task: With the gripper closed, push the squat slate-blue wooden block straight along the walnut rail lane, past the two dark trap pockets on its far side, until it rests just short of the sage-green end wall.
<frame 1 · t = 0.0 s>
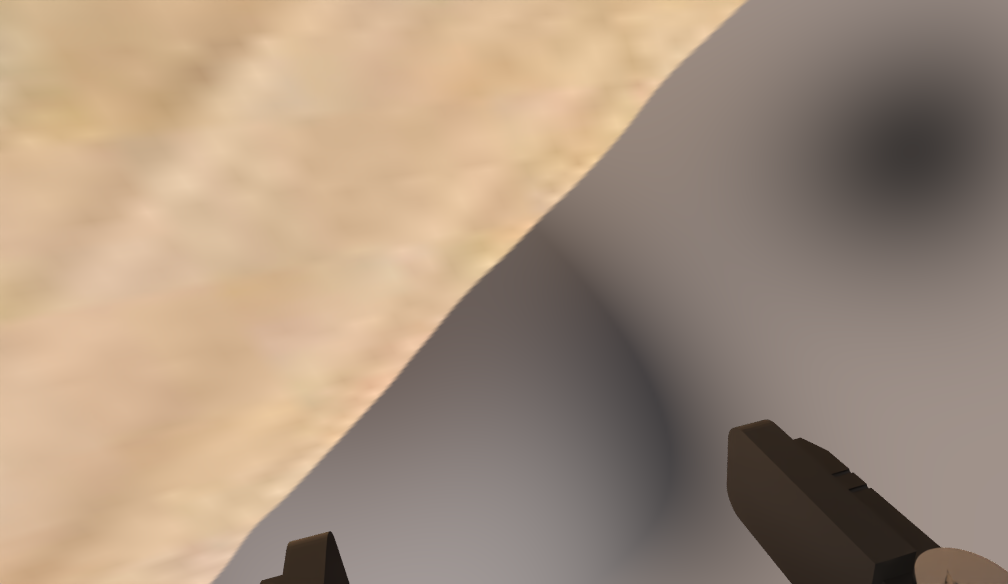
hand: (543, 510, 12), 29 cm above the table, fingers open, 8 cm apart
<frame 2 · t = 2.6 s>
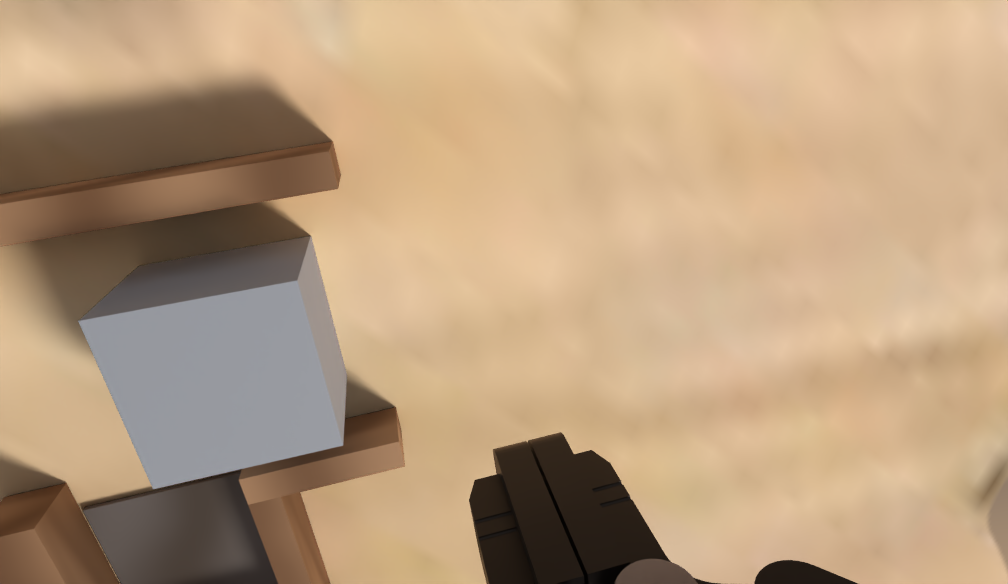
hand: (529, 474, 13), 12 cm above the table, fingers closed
block: (250, 323, 23), on the table
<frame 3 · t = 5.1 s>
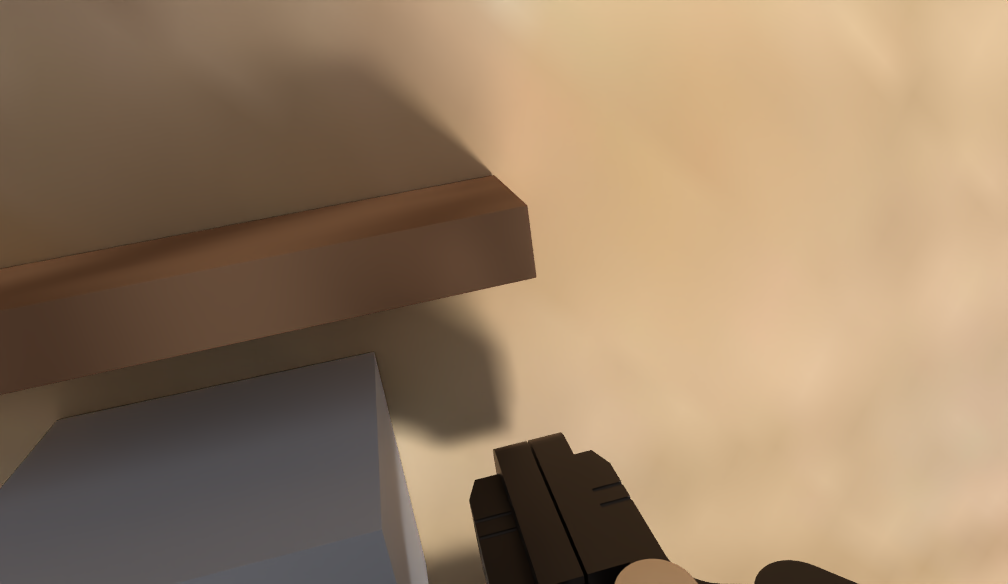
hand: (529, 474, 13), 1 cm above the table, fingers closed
block: (265, 501, 13), on the table, touching gripper
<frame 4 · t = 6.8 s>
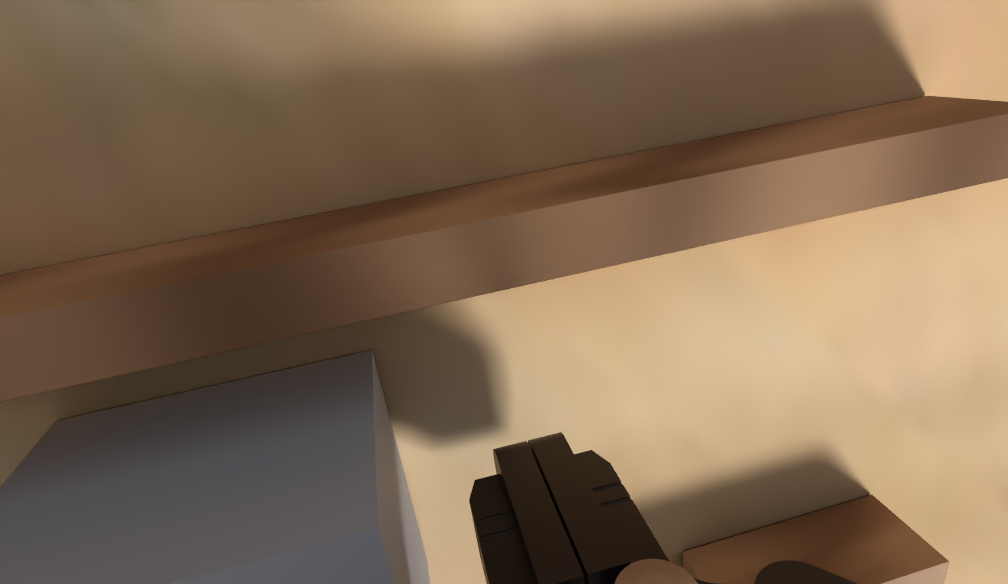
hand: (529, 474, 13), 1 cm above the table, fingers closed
trap lane: (365, 484, 13), on the table
block: (265, 500, 13), on the table, touching gripper
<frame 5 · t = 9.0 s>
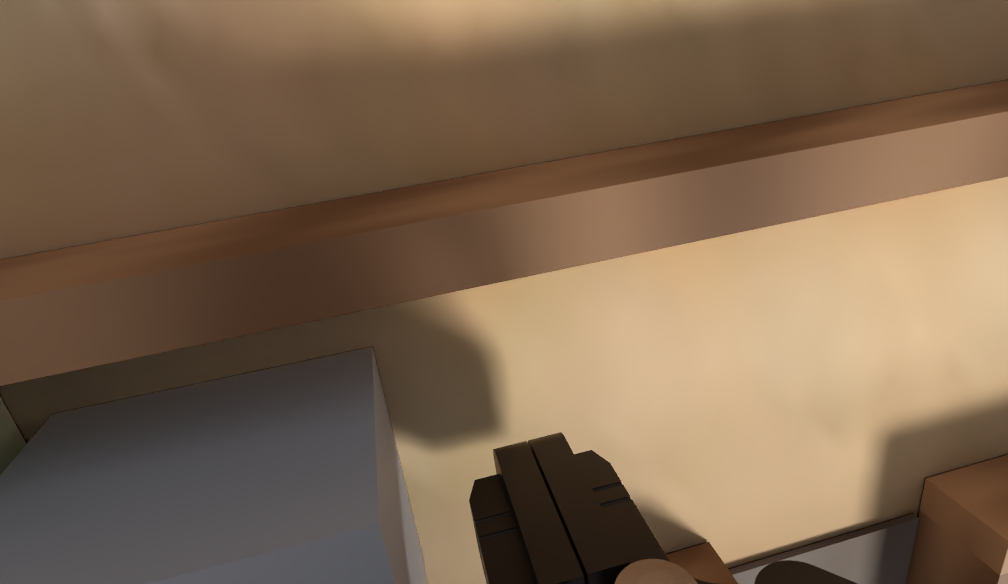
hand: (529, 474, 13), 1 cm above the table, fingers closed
trap lane: (688, 396, 14), on the table
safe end: (52, 553, 12), on the table
block: (262, 497, 13), on the table, touching gripper
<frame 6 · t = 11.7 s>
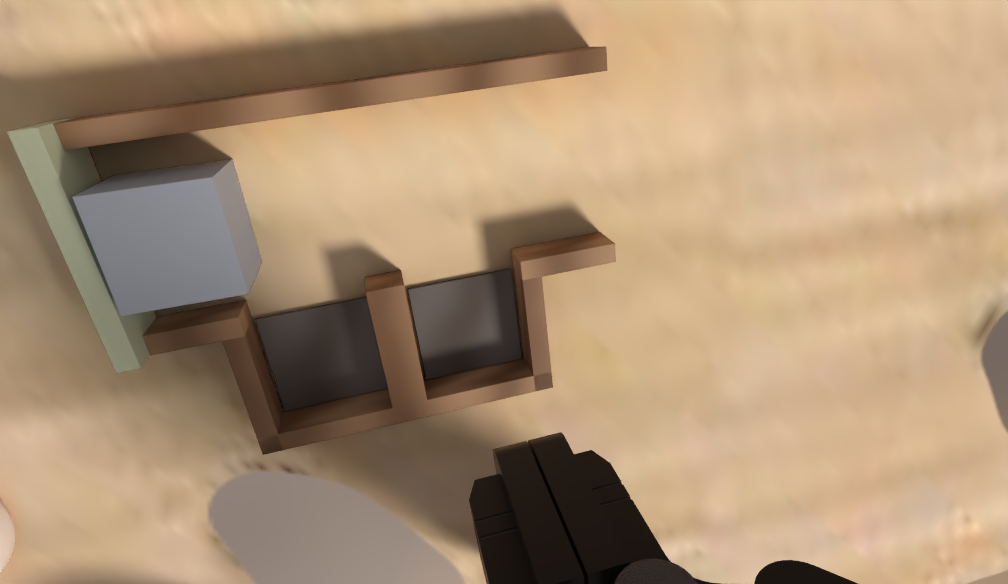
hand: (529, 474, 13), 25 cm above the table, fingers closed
trap lane: (374, 192, 34), on the table
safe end: (111, 236, 32), on the table
block: (192, 220, 33), on the table
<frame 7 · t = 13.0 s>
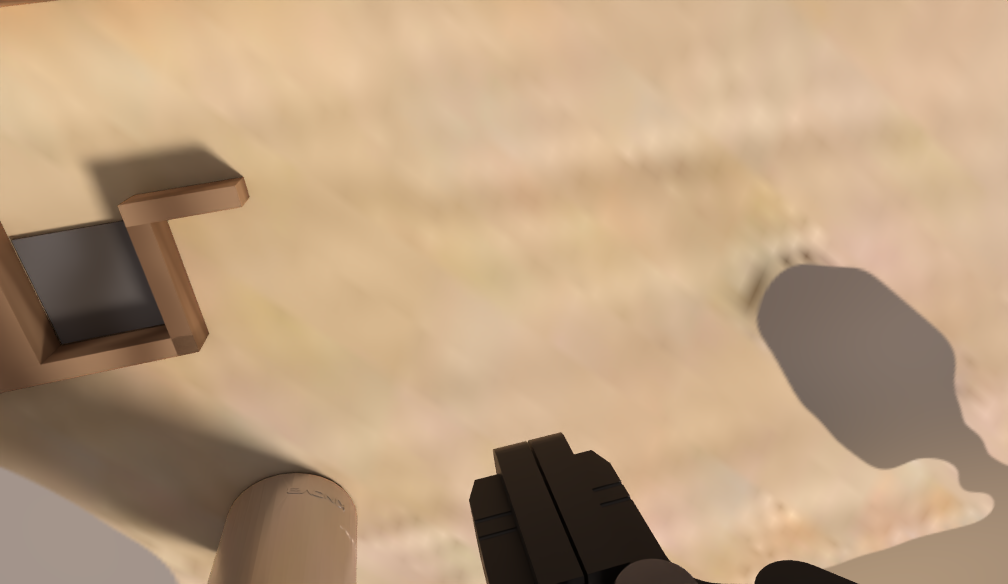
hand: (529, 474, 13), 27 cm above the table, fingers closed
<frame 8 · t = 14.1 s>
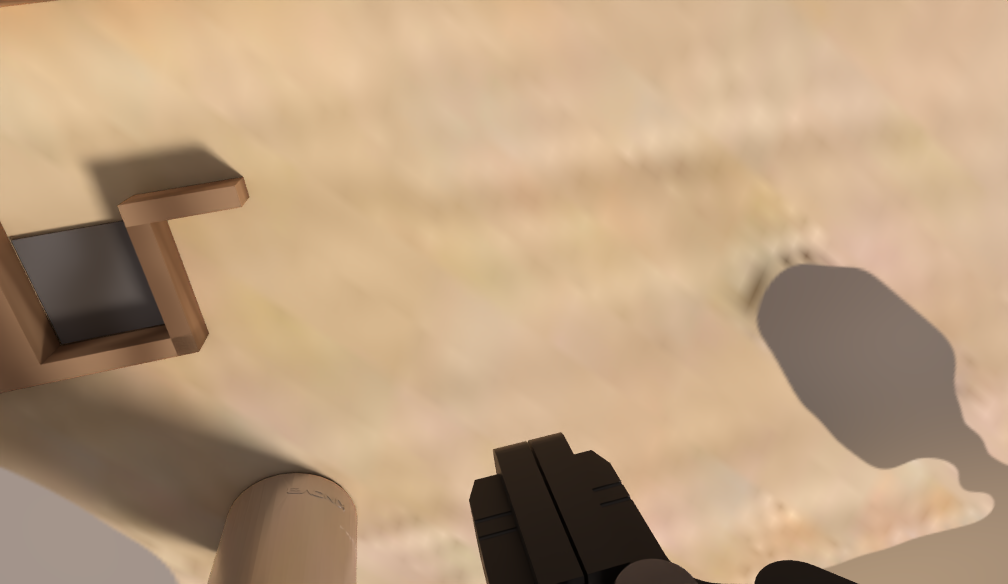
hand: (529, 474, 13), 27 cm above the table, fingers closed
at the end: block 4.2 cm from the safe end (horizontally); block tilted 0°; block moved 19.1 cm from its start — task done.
